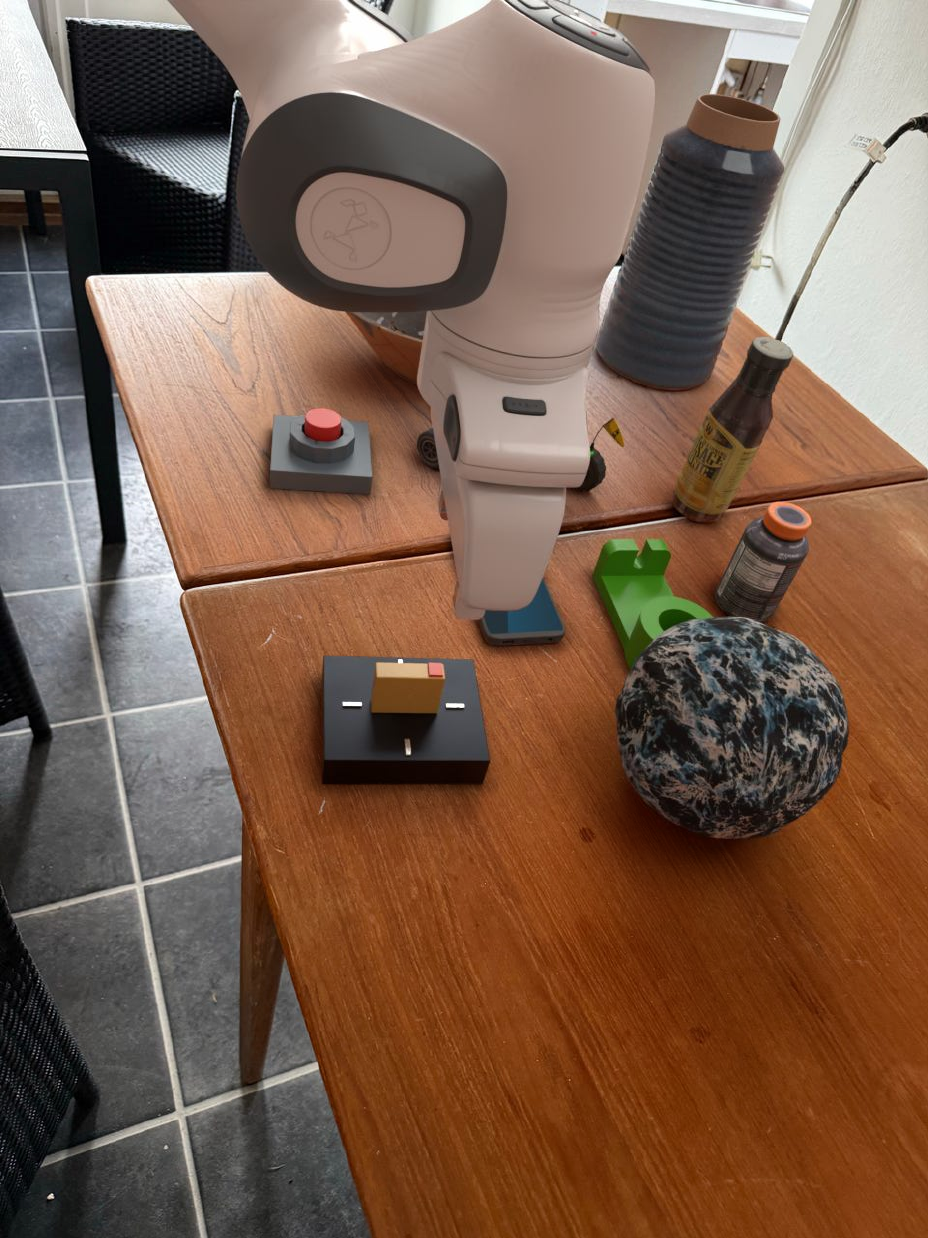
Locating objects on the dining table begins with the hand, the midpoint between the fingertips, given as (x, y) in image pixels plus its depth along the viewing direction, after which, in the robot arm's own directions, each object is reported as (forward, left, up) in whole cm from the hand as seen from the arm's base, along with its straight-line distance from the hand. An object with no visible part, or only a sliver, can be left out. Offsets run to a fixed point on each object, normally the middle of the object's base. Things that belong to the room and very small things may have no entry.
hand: (458, 559), depth 57 cm
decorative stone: (+21, -5, -18) cm, 28 cm away
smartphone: (+9, +17, -18) cm, 26 cm away
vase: (+37, +64, -18) cm, 76 cm away
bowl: (+5, +57, -18) cm, 60 cm away
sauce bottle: (+33, +31, -18) cm, 49 cm away
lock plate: (-2, 0, -18) cm, 18 cm away
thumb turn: (-2, 0, -15) cm, 15 cm away
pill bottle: (+33, +16, -18) cm, 41 cm away
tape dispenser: (+22, +12, -18) cm, 31 cm away
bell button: (-8, +35, -14) cm, 38 cm away
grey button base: (-8, +35, -18) cm, 40 cm away
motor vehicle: (+12, +35, -18) cm, 41 cm away
